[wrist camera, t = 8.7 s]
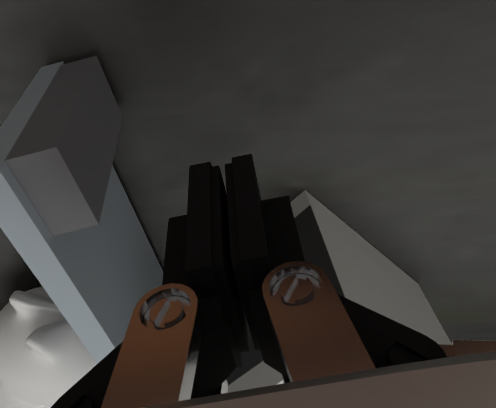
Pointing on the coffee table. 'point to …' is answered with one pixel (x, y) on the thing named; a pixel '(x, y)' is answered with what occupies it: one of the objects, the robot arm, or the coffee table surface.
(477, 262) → the coffee table surface
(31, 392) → the cat figurine
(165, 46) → the coffee table surface
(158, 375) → the robot arm
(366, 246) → the white rectangular box
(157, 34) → the coffee table surface
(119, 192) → the side door
